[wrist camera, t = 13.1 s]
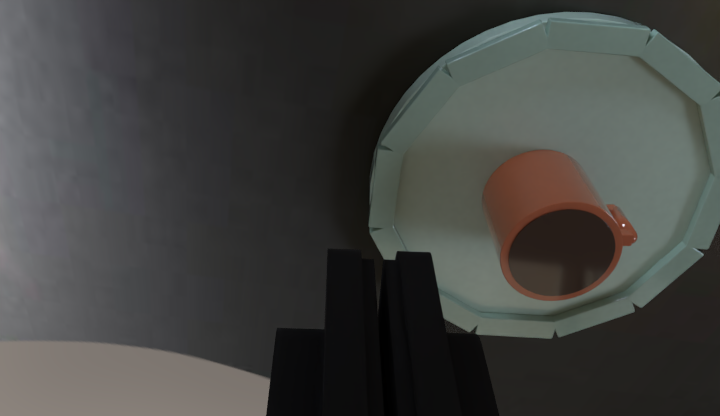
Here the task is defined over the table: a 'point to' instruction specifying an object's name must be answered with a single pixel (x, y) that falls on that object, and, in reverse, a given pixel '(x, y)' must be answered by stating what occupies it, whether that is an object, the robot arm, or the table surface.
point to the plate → (558, 133)
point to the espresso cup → (552, 226)
